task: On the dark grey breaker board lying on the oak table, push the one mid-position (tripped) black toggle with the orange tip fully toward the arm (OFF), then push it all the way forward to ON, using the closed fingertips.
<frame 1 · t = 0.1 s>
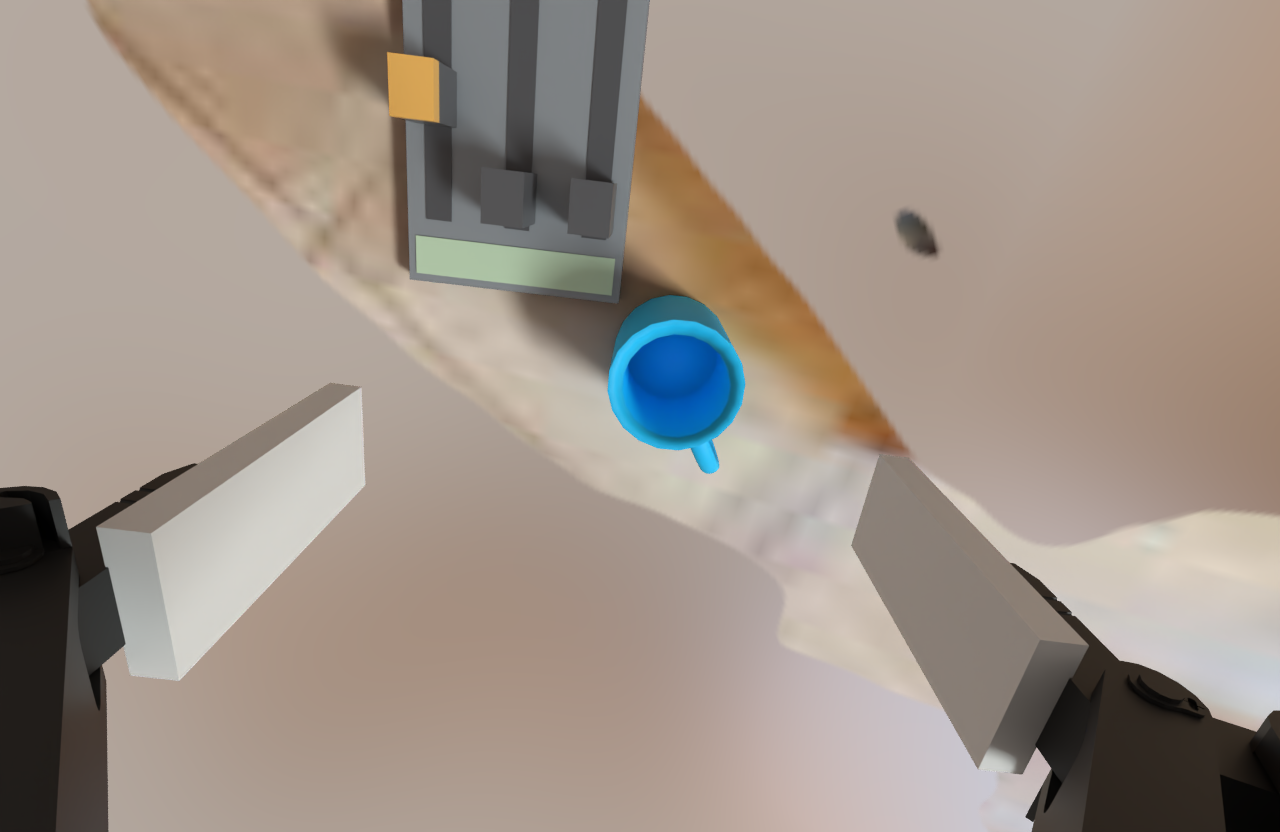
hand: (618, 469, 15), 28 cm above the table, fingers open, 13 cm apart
breaker 2: (510, 197, 35), point 4 cm above the table, slide at 5.0 cm
breaker 3: (593, 207, 36), point 4 cm above the table, slide at 5.0 cm
panel: (526, 112, 37), on the table
mug: (680, 374, 44), on the table
breaker tripped: (424, 93, 33), point 4 cm above the table, slide at 0.0 cm
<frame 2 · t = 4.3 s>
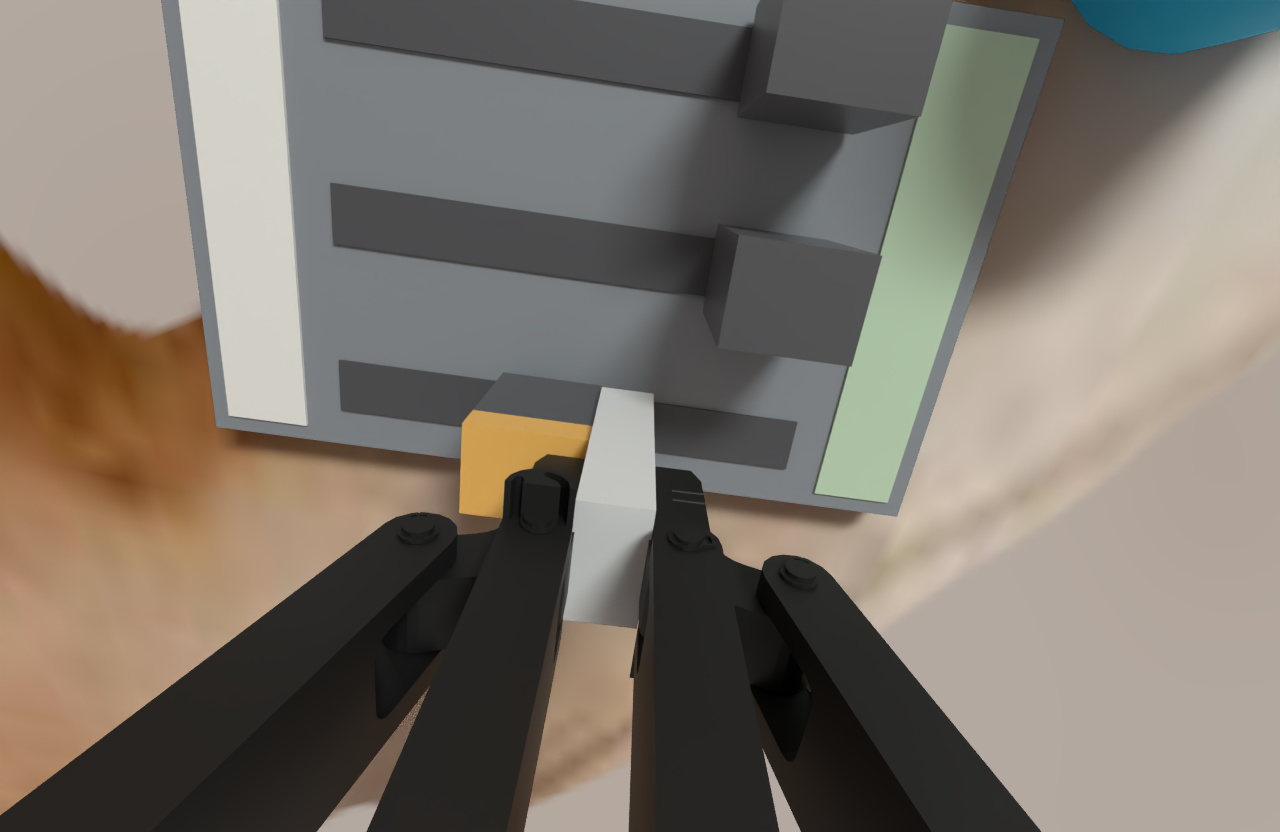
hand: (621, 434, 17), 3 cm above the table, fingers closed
breaker 2: (778, 288, 14), point 4 cm above the table, slide at 5.0 cm
breaker 3: (829, 55, 13), point 4 cm above the table, slide at 5.0 cm
panel: (590, 245, 18), on the table
breaker tripped: (538, 443, 16), point 4 cm above the table, slide at -0.5 cm, touching gripper
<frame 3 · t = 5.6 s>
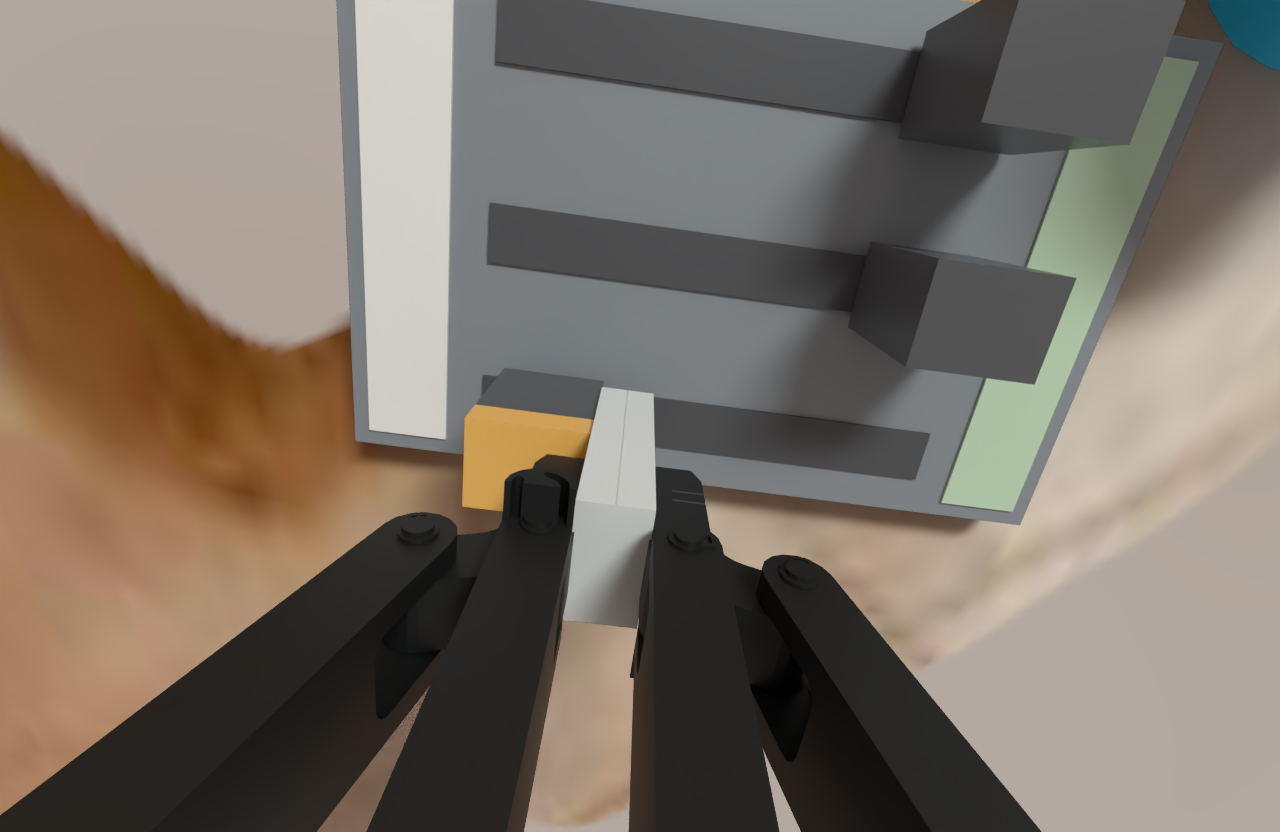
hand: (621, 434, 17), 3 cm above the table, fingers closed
breaker 2: (944, 306, 15), point 4 cm above the table, slide at 5.0 cm
breaker 3: (1016, 81, 13), point 4 cm above the table, slide at 5.0 cm
panel: (728, 260, 18), on the table
breaker tripped: (539, 437, 16), point 4 cm above the table, slide at -4.8 cm, touching gripper
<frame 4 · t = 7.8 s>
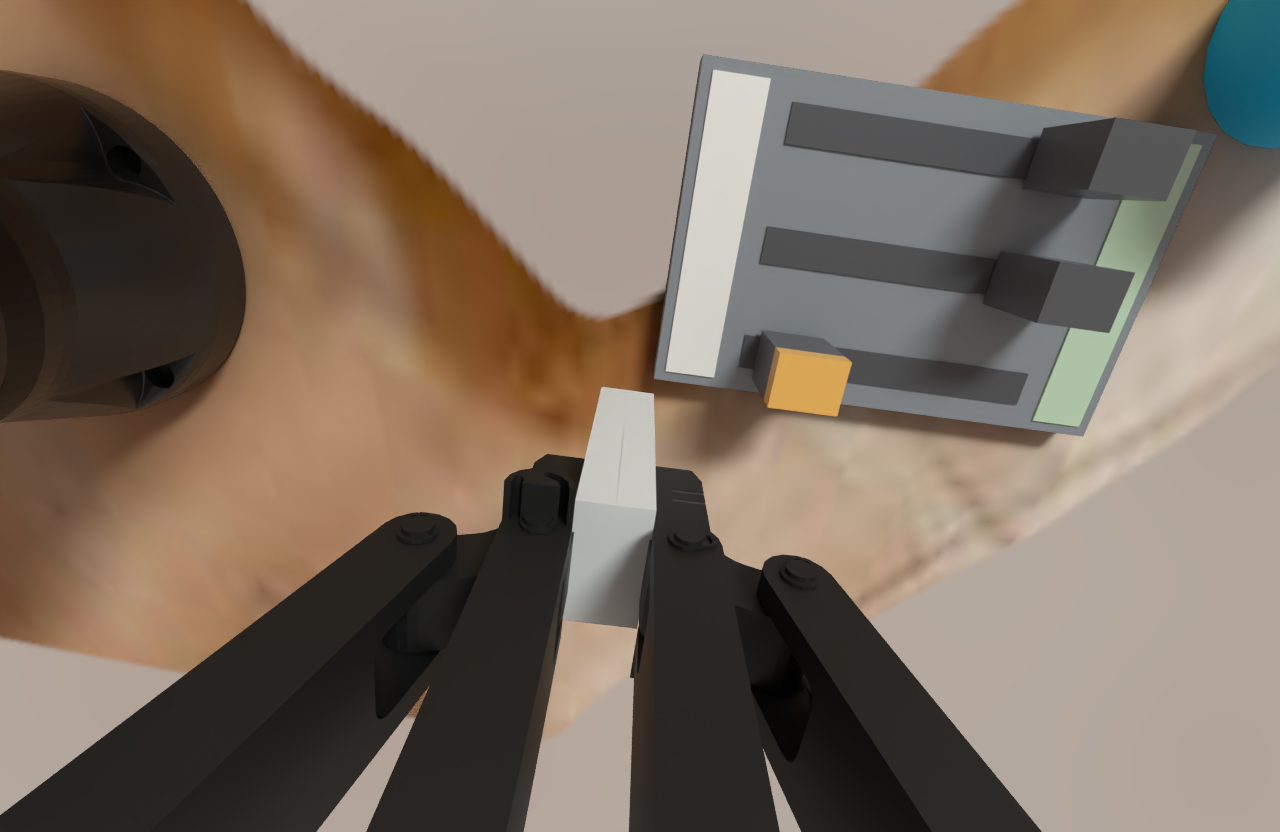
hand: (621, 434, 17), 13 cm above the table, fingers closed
breaker 2: (1051, 289, 25), point 4 cm above the table, slide at 5.0 cm
breaker 3: (1101, 162, 23), point 4 cm above the table, slide at 5.0 cm
panel: (900, 262, 28), on the table
breaker tripped: (797, 370, 26), point 4 cm above the table, slide at -4.8 cm
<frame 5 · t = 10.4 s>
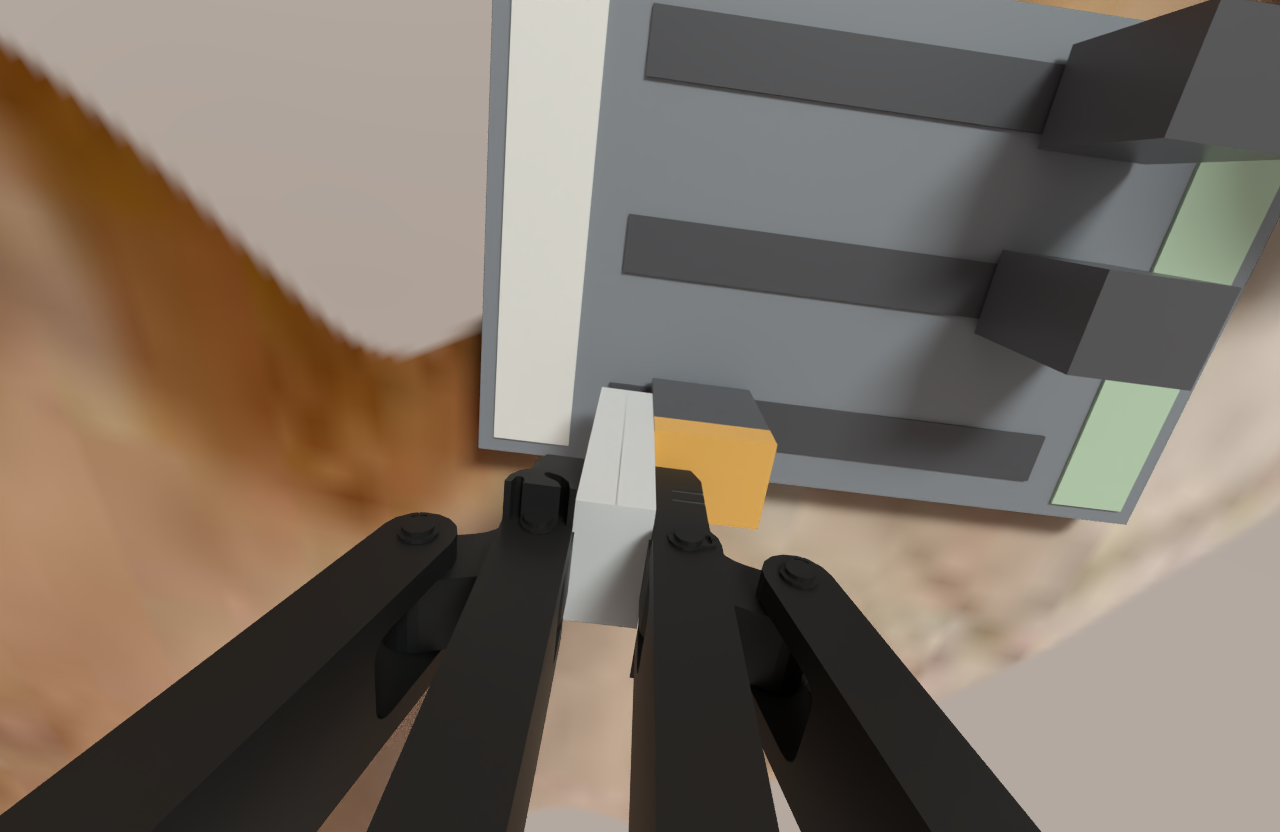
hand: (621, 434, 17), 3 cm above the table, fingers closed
breaker 2: (1087, 313, 15), point 4 cm above the table, slide at 5.0 cm
breaker 3: (1177, 95, 13), point 4 cm above the table, slide at 5.0 cm
panel: (849, 268, 19), on the table
breaker tripped: (700, 447, 17), point 4 cm above the table, slide at -4.2 cm, touching gripper
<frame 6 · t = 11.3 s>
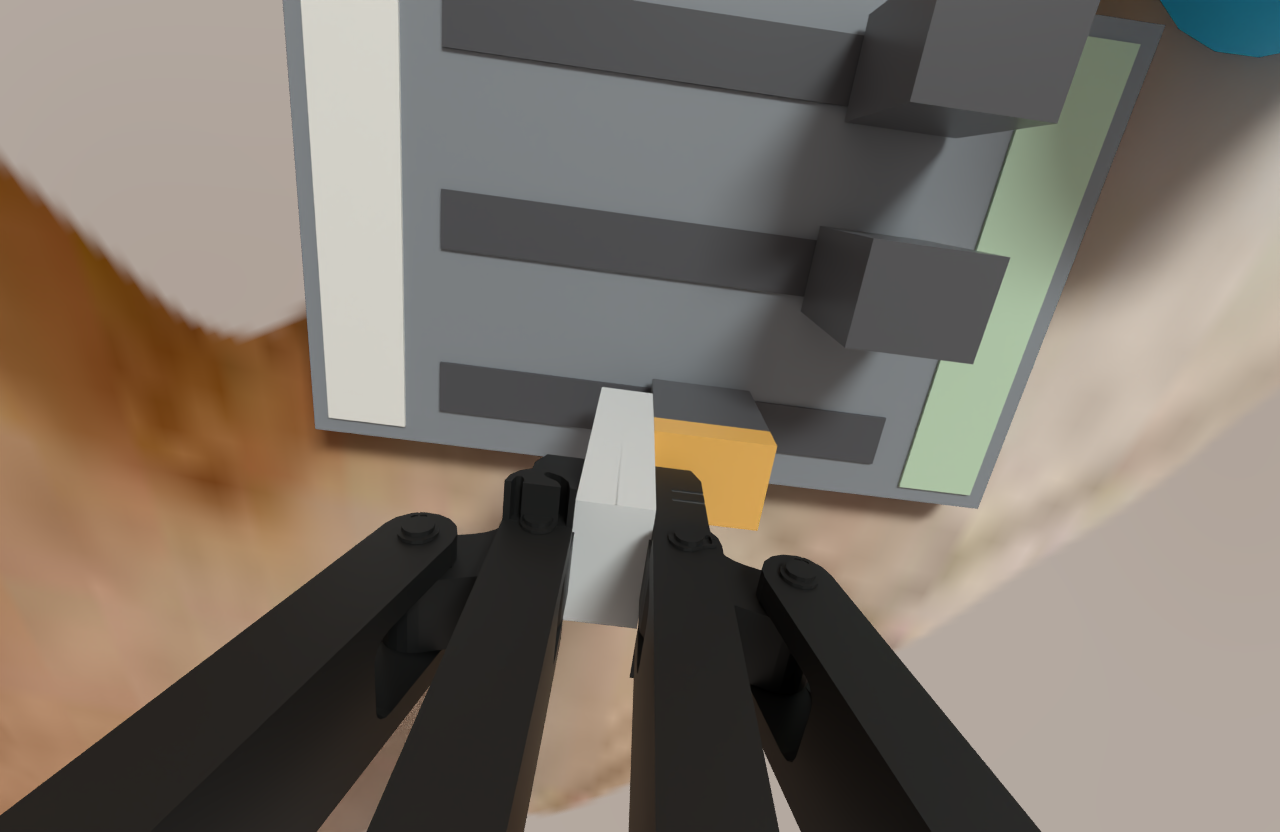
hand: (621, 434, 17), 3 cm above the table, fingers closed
breaker 2: (889, 288, 15), point 4 cm above the table, slide at 5.0 cm
breaker 3: (953, 63, 13), point 4 cm above the table, slide at 5.0 cm
panel: (684, 246, 18), on the table
breaker tripped: (700, 448, 17), point 4 cm above the table, slide at 1.0 cm, touching gripper
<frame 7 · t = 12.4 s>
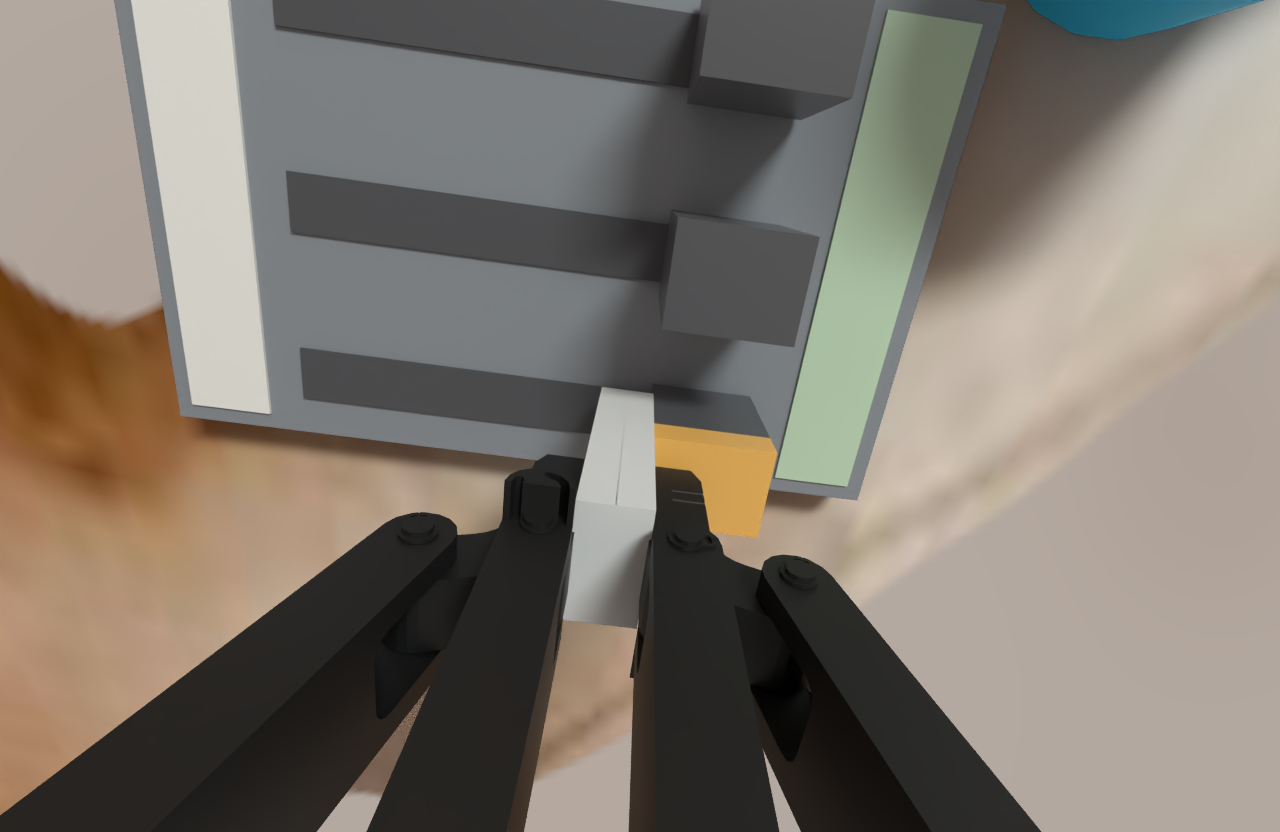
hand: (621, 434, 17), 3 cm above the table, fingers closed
breaker 2: (726, 271, 15), point 4 cm above the table, slide at 5.0 cm
breaker 3: (769, 39, 13), point 4 cm above the table, slide at 5.0 cm
panel: (549, 232, 18), on the table
breaker tripped: (700, 454, 16), point 4 cm above the table, slide at 5.2 cm, touching gripper
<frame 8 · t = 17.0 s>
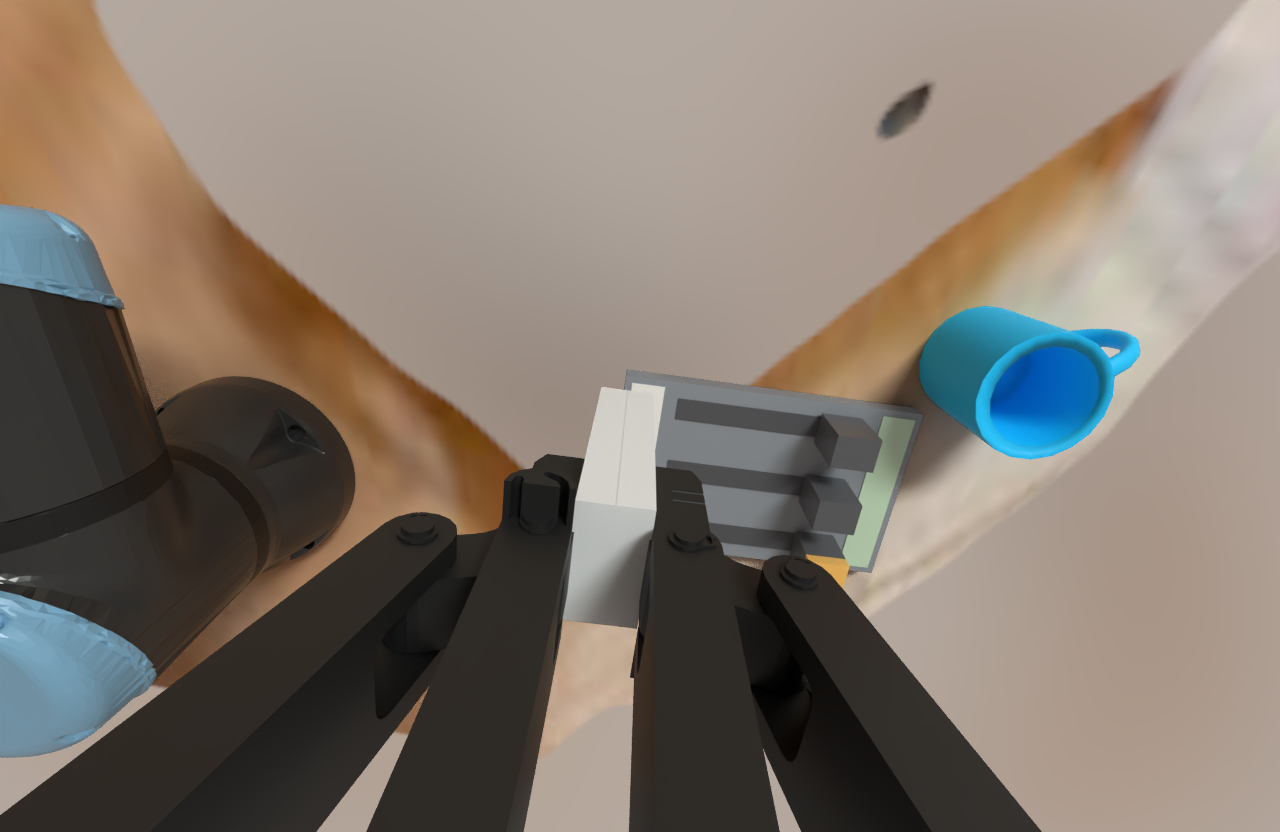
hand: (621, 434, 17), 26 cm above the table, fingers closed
breaker 2: (828, 503, 44), point 4 cm above the table, slide at 5.0 cm
breaker 3: (846, 442, 42), point 4 cm above the table, slide at 5.0 cm
panel: (753, 471, 47), on the table
mug: (1000, 351, 43), on the table
breaker tripped: (818, 561, 45), point 4 cm above the table, slide at 5.4 cm
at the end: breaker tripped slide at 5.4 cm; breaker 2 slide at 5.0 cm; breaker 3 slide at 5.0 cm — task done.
